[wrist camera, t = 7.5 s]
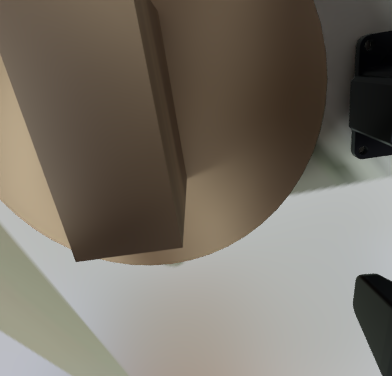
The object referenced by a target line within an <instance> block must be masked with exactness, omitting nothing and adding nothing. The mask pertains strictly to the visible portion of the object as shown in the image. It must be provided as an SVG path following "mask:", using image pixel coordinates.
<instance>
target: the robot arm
mask: <svg viewBox="0 0 392 376" xmlns="http://www.w3.org/2000/svg"><path fill="white" fill-rule="evenodd" d="M368 40H369V41H370V43H371V46H370V48H369V50H366V49H365V43H366V42H367V41H368ZM349 127H350V128H351V129H352V142H351V152H352V154H353V156H355V157H357V158H359V159H366V158H373V157H380V156H388V155H392V31H388V32H381V33H375V34H369V35H365V36H362V37H361V38H360V39H359V40H358V42H357V45H356V55H355V77H354V78H353V80H352V81H351V88H350V112H349ZM363 146H364V151H363V152H361V153H359V149H360V148H361V147H363ZM353 308H354V311H355V314H356V317H357V319H358V321H359V323H360V326H361V328H362V331H363V333H364V335H365V337H366V340H367V342H368V344H369V347H370V349H371V351H372V353H373V356H374V358H375V360H376V362H377V365H378V367H379V369H380V372H381V374H382V375H383V376H392V281H390V280H388V279H386V278H384V277H382V276H380V275H378V274H363V275H359V276H358V277H357V278H356V282H355V290H354V298H353Z"/></svg>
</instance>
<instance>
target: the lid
mask: <svg viewBox="0 0 392 376" xmlns="http://www.w3.org/2000/svg"><path fill="white" fill-rule="evenodd" d="M326 91H327V62H326V49H325V44H324V38H323V33H322V27H321V23H320V19H319V16H318V13H317V10H316V7H315V4H314V1H313V0H0V200H1V201H2V202H3V203H4V204H5V205H6V206H7V207H8V208H10V209H11V210H12V211H13V212H14V213H15V214H16V215H17V216H18V217H20V218H21V219H22V220H23V221H25V222H26V223H27V224H28V225H30V226H31V227H32V228H34V229H35V230H37V231H39V232H40V233H42V234H43V235H45V236H46V237H48V238H50V239H51V240H53V241H55V242H57V243H59V244H61V245H63V246H66V247H67V248H69V249H71V250H72V252H73V255H74V258H75V261H76V262H79V261H87V260H94V259H102V260H106V261H110V262H116V263H123V264H130V265H162V264H173V263H178V262H184V261H188V260H193V259H196V258H199V257H203V256H206V255H209V254H212V253H214V252H216V251H218V250H221V249H223V248H225V247H228V246H229V245H231V244H233V243H234V242H236V241H238V240H240V239H241V238H243V237H245V236H246V235H248V234H249V233H250V232H252V231H253V230H254V229H256V228H257V227H258V226H260V225H261V224H262V223H263V222H264V221H265V220H266V219H267V218H268V217H270V216H271V215H272V214H273V212H274V211H276V210H277V209H278V208H279V206H280V205H281V204H282V203H283V201H284V200H285V199H286V198H287V197H288V195H289V194H290V193H291V191H292V190H293V188H294V187H295V185H296V184H297V182H298V181H299V179H300V177H301V176H302V174H303V172H304V170H305V168H306V166H307V164H308V162H309V160H310V158H311V156H312V153H313V151H314V148H315V145H316V142H317V139H318V136H319V133H320V130H321V125H322V120H323V115H324V110H325V105H326Z"/></svg>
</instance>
